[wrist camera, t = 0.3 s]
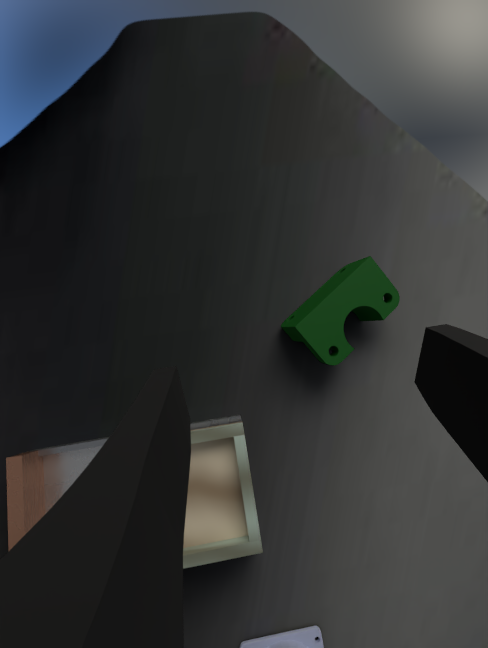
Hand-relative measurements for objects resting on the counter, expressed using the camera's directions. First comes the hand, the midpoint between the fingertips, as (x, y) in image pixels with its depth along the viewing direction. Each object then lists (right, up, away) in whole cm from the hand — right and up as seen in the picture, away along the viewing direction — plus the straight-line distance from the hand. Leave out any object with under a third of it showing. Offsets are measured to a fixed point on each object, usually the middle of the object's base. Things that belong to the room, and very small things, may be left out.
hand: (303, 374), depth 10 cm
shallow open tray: (-8, -15, +24) cm, 30 cm away
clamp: (+9, +2, +30) cm, 31 cm away
